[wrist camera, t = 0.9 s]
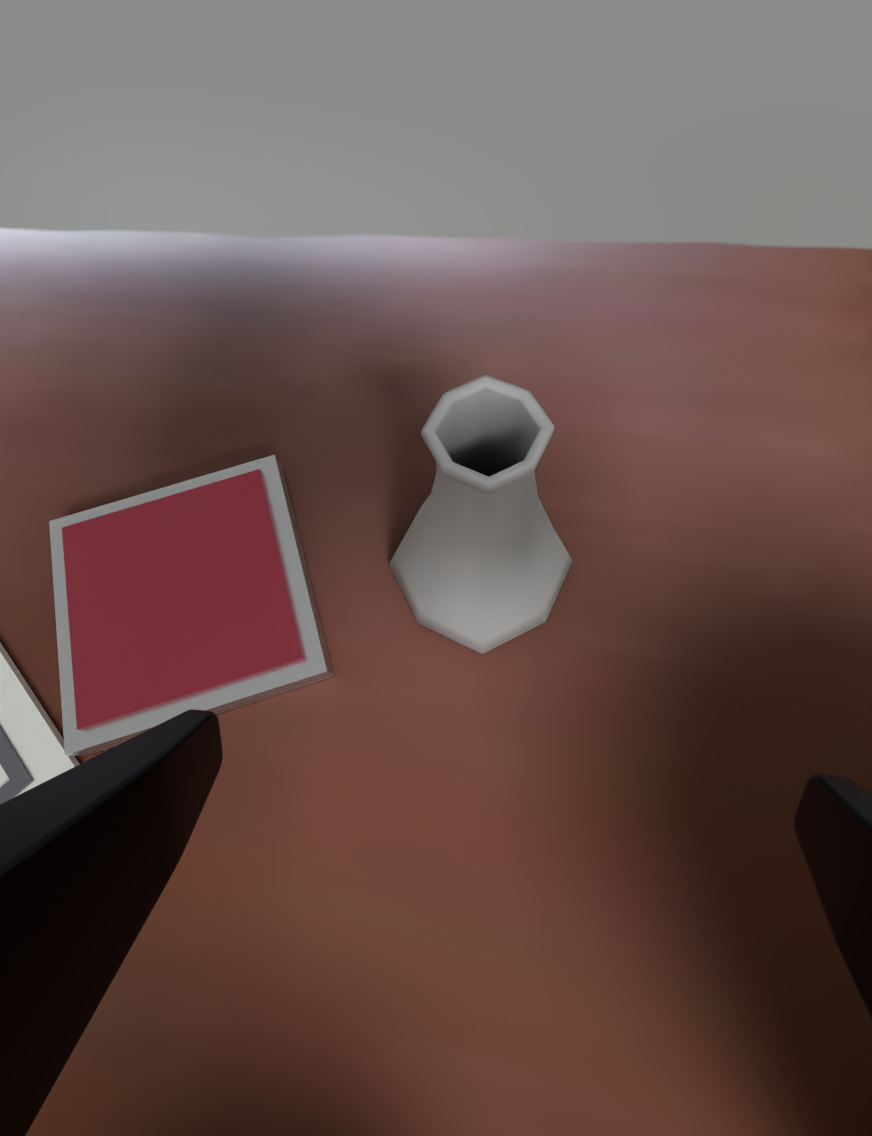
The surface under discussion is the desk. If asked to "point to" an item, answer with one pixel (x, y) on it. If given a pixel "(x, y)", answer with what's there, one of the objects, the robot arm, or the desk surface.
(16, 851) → the robot arm
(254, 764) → the desk surface
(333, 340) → the desk surface
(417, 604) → the flask
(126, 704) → the ink pad
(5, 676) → the marked board
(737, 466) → the desk surface
